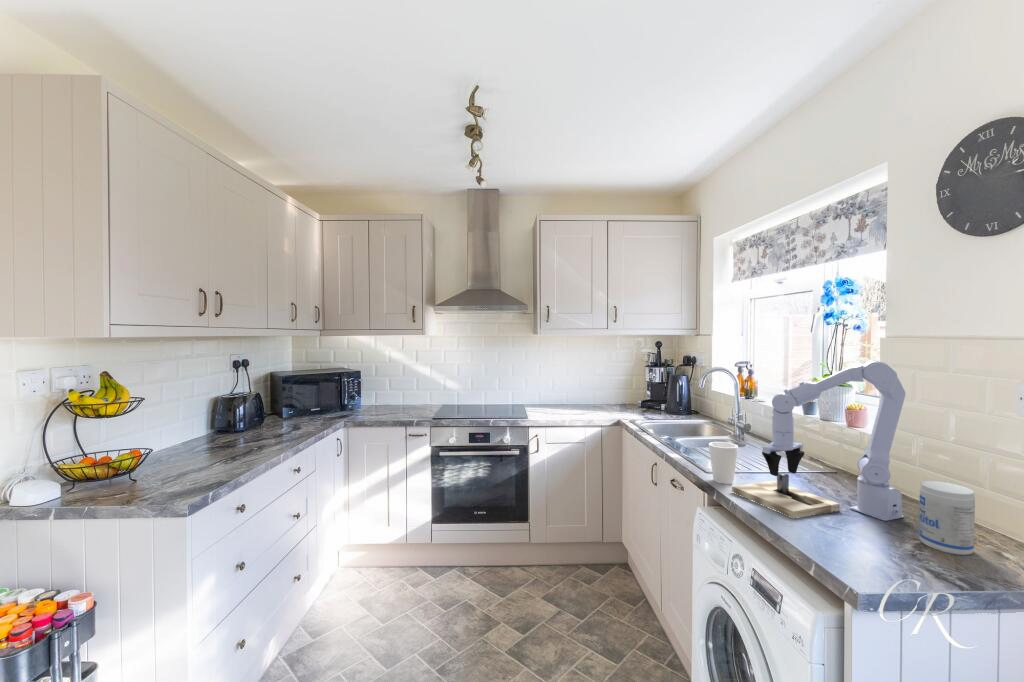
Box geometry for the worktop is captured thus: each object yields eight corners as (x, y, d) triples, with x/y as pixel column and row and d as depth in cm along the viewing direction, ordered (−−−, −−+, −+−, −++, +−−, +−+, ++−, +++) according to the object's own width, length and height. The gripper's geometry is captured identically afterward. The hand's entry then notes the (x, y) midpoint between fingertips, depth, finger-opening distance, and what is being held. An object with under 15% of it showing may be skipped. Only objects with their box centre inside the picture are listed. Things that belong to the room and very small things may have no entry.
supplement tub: (908, 538, 110) (908, 480, 110) (942, 536, 111) (942, 479, 111) (950, 557, 101) (950, 494, 101) (986, 555, 102) (987, 492, 102)
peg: (796, 499, 137) (796, 476, 137) (784, 502, 135) (784, 478, 135) (781, 494, 142) (780, 471, 142) (769, 496, 140) (769, 473, 140)
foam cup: (735, 487, 149) (734, 449, 148) (706, 482, 154) (706, 445, 154) (740, 480, 156) (740, 444, 156) (712, 475, 162) (712, 440, 162)
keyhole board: (839, 510, 128) (839, 503, 128) (793, 518, 123) (793, 511, 123) (773, 486, 149) (773, 480, 149) (732, 492, 144) (732, 486, 144)
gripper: (788, 427, 145) (789, 468, 145) (754, 430, 140) (754, 472, 140) (809, 431, 138) (809, 474, 138) (773, 434, 133) (774, 479, 134)
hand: (783, 473), depth 139 cm, fingers open, 7 cm apart
